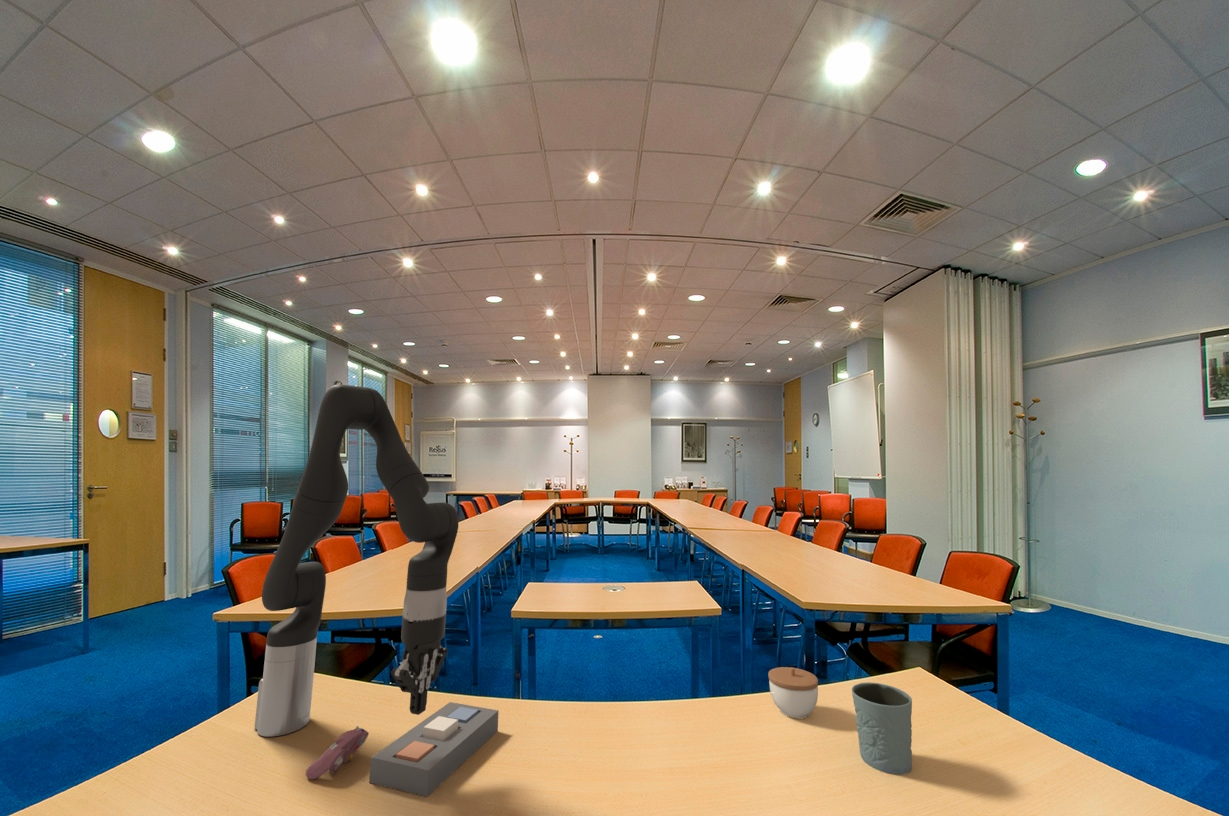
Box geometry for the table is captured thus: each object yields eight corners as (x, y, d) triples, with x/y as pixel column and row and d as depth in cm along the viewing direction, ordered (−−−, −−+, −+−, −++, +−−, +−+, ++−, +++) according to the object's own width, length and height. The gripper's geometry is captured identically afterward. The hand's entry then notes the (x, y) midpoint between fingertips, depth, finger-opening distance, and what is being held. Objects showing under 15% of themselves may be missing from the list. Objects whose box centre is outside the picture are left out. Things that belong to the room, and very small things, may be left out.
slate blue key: (445, 730, 97) (446, 716, 98) (459, 719, 101) (459, 706, 102) (464, 733, 96) (465, 720, 96) (477, 722, 100) (478, 710, 100)
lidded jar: (762, 702, 114) (760, 660, 115) (804, 700, 115) (803, 658, 117) (782, 725, 104) (780, 678, 105) (829, 722, 105) (827, 676, 106)
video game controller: (320, 793, 83) (339, 755, 83) (300, 777, 84) (320, 740, 84) (360, 760, 92) (377, 727, 93) (342, 746, 93) (359, 713, 94)
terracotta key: (395, 769, 84) (396, 754, 84) (413, 755, 88) (413, 740, 89) (416, 774, 83) (417, 758, 83) (433, 760, 87) (434, 745, 87)
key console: (369, 782, 83) (371, 757, 84) (449, 721, 104) (450, 702, 105) (427, 796, 80) (428, 770, 80) (497, 731, 100) (498, 710, 101)
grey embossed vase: (909, 752, 94) (904, 686, 95) (924, 783, 84) (918, 709, 86) (852, 742, 97) (848, 679, 99) (859, 771, 87) (855, 700, 89)
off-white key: (422, 741, 91) (423, 727, 91) (438, 729, 95) (438, 716, 95) (442, 745, 89) (443, 731, 90) (457, 733, 94) (458, 719, 94)
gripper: (431, 601, 97) (424, 693, 94) (381, 620, 84) (372, 726, 82) (463, 605, 94) (457, 699, 92) (417, 625, 82) (409, 735, 80)
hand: (417, 712), depth 87 cm, fingers closed
